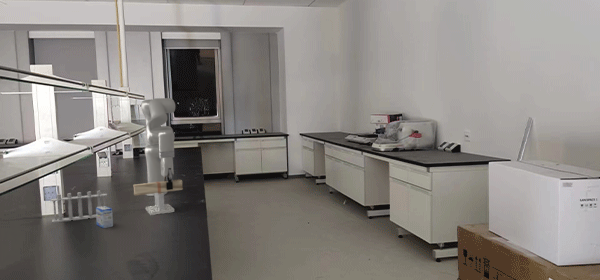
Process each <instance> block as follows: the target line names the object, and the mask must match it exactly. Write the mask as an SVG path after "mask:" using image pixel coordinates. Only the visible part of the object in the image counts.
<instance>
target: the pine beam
mask: <svg viewBox="0 0 600 280" xmlns="http://www.w3.org/2000/svg"><path fill="white" fill-rule="evenodd" d="M166 182H167V181H162V182H153V183H148V182H147V183H138V184H133V185H132V186H133V195H134V196H135V197H136V196H144V195H145V196H146V194H152V193H160V192H167V193H168V192H175V191H182V190H183V189H184V188H183V180H182V179H172V182H173V189H171V190H167V189H166Z"/></svg>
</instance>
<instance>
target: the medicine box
mask: <svg viewBox="0 0 600 280" xmlns="http://www.w3.org/2000/svg"><path fill="white" fill-rule="evenodd" d="M95 215H96V218H95V219H96V226H98V227H99V228H102V229H107V228H112V227H113V226H114V220H113V219H114V218H113V208H111V207H109V206H106V205H105V206H104V205H102V206H101V207H98V206H96V207H95Z"/></svg>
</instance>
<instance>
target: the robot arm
mask: <svg viewBox="0 0 600 280" xmlns="http://www.w3.org/2000/svg"><path fill="white" fill-rule="evenodd" d="M140 106H141V111H142V114H143V116H144V119H145V136H146V140H147V143H148V144H147V145H146V146H145V147H144V155H145V161H146V173H147V175H146V176H147V183H153V182H162V181H167V182H166V189H167V190H171V189H173V182H172V180H173V176H174V158H175V133H174V130H173V128H172V127H171V126H169V125H164V124H166V122H167V121H168V114H173V113H174V112H175V110H176V103H175V101H174V99H173V98H169V97H164V98H162V97H161V98H160V97H159V98H152V99H144V100H142V102H141V105H140ZM159 160H160V161H159ZM162 193H164V196H165V195H166V194H168V192H162ZM145 196H147V197H155V194H154V193H152V194H145Z"/></svg>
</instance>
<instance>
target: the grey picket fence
mask: <svg viewBox="0 0 600 280" xmlns="http://www.w3.org/2000/svg"><path fill="white" fill-rule="evenodd" d="M76 194H77V196H72V193H71V192H69V193H67V196H66V197H62V194H61V193H60V194H59V193H58V194H56V197H57V198H51V199H50V202H52V203H53V216H54V218H52V221H51V224H54V223H63V222H71V220H73V221H79V220H80V221H81V220H88V218H90V219H96V214H93V203H92V200H93V199H92V198H97V207H101V206H106V197H107V196H108V193H102V191H101V190H96V194H92V191H87V192H86V194H87V195H82V192H81V191H79V192H77V193H76ZM82 199H87V208H88V209H87V210H88V215H83V201H82ZM72 200H77V208H78V209H77V210H78V216H74V215H73V213H74V212H73V201H72ZM102 200H103V205H102ZM62 201H67V208H68V209H67V210H68V212H67V213H68V217H63V206H62V204H63V203H62ZM56 203H57V206H56ZM56 207H57V208H56ZM56 209H57V210H56ZM57 212H58V213H57ZM57 215H58V218H57Z"/></svg>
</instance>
